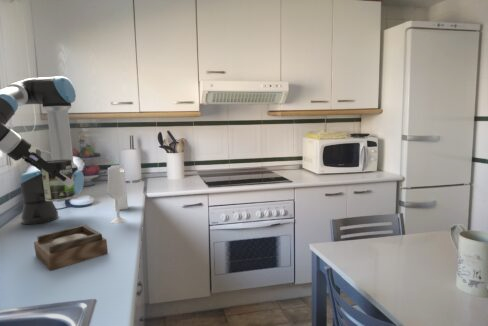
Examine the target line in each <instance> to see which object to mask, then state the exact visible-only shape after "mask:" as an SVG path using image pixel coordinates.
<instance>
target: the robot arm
mask: <svg viewBox="0 0 488 326" xmlns="http://www.w3.org/2000/svg"><path fill="white" fill-rule="evenodd" d="M75 101H76V90H75V87H74V85H73V83H72V81H71V80H70V79H69V78H68V77H67V76H66V77H65V76H58V75H57V76H55V75H54V76H44V77H30V78H25V79H23V80H19V81H16V82H13V83H10V84H9V85H7V86H6V87H5V88H2V89H0V152H2V153H4V154H6V155H7V156H8V157H9V158H11V159H12V160H13V161H20V160H21V159H23V160H24V162H26V163H27V164H29V165H31V166H32V167H34V168H36V169H37V170H36V169H35V170H32V171H27V172H25V173H24V172H23V173H22V174H21V175H20V177H19V178H20V180H19V181H20V183H19V184H20V187H21V188H20V189H21V195H22V201H23V208H22V213H21V217H20V218H21V224H24V225H36V224H43V223H47V222H50V221H54V220H56V219H58V218H59V212H58V209H57V208H56V206H55V204H54V201H45V193H44V185H43V177H42V169H43V170H45V171H46V172H48V173H49V174H51V175H52V176H53V177H52V178H53V179H54V178H56V179H57V180H59V181H60V182H62V183H63V184H64V185H66V186H67V187H69V188H70V187H71V186H72V185H73V184H74V191H75V197H76V196H78V195H79V194H81V193H82V191H83V189H84V183H85V175H84V173H83V171H82V170H80V169H79V167H78V165H77V164H75V162H74V153H73V145H72V135H71V127H70V125H71V124H70V116H69V111H70V109H71V108H72V104H73V103H74V102H75ZM25 105H41V106H42V108H43V110H45V111H46V114H47V124H48V131H49V133H48V134H49V143H50V150H51V151H50V153H51V158H52V160H66V159H67V160H71V161H72V162H71V164H72V173H73V180H71V179H70V178H68V177H67V176H66V175H64V174H63V173H61V172H60V170H58V169H56V168H55V167H53V166H52V165H50V164H49V163H47V162H46V161H47V160H44V159H43V158H42V157H41V156H39V155H38V154H37V153H36V152H34V151H29V150H30V149H31V148H32V143H30V142H29V141H27V140H26V139H25V138H22V137H21V135H20V134H18V133H17V132H16V131H14V130H13V129H11V128H9V127H8V126H7V125H6V124H7V123H8V122H9V121H11V118H12V117H13V116H14V115H15V114H16V112H17V110H18V107H21V106H25ZM52 160H51V161H52ZM41 168H42V169H41ZM54 171H55V172H54ZM53 172H54V173H53Z"/></svg>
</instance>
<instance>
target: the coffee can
mask: <svg viewBox="0 0 488 326" xmlns="http://www.w3.org/2000/svg"><path fill="white" fill-rule="evenodd" d="M45 161H46V162H47V163H49V164H50V165H52V166H53V167H55V168H56V169H58V170H60V172H61V173H63V174H64V175H66V176H67V177H68V178H70V179H71V180H73V173H72V164H71V162H72V161H71V160H67V159H66V160H45ZM41 169H42V168H41ZM54 172H55V171H54ZM54 172H53V173H54ZM42 177H43V185H44V193H45V201H52V202H61V201H67V200H71V199H74V198H75V197H76V196H75V191H74V184H73V185H72V186H71V187H70V188H69V187H67V186H66V185H64V184H63V183H62V182H60V181H59V180H57V179H56V178H54V179H53V178H52V177H53V176H52V175H51V174H49V173H48V172H46V171H45V170H43V169H42Z"/></svg>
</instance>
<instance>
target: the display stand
mask: <svg viewBox="0 0 488 326" xmlns="http://www.w3.org/2000/svg"><path fill="white" fill-rule="evenodd" d="M36 237H37V240H36V241H33V245H34V251H35V252H34V253H35V256H36V257H37V259H39V260H40V261H41V262H42V264H44V265H45V267H46V268H47V269H48V270H50V271H54V270H57V269H60V268H64V267H68V266H71V265H75V264H78V263H81V262H84V261H87V260H91V259H95V258H97V256H98V257H100V256H104V254H105V255H107V253H108V254H109V249H108V241H107V240H108V239H107V238H105V237H103V234H102V233H101V232H99V231H98V230H95V229H94V228H91V227H90V226H88V225H87V224H83V225H82V224H81V225H78V226H73V227H69V228H65V229H60V230H56V231H51V232H48V233H44V234H40V235H37V236H36ZM94 257H95V258H94Z"/></svg>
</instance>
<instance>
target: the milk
mask: <svg viewBox="0 0 488 326" xmlns="http://www.w3.org/2000/svg"><path fill="white" fill-rule="evenodd" d="M110 167H119V169H120V174H121V179H122V184H123V189H124V193H123V195H122V196H121V197H120V199H118V203H119V211H121V210H128V209H129V204H128V195H127V193H128V192H127V183H126V175H125V174H126V173H125V169H124V165H123V164H114V165H110ZM112 200H113V201H112V202H113V208H114V210H115V211H116V201H115V200H114V199H113V198H112Z"/></svg>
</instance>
